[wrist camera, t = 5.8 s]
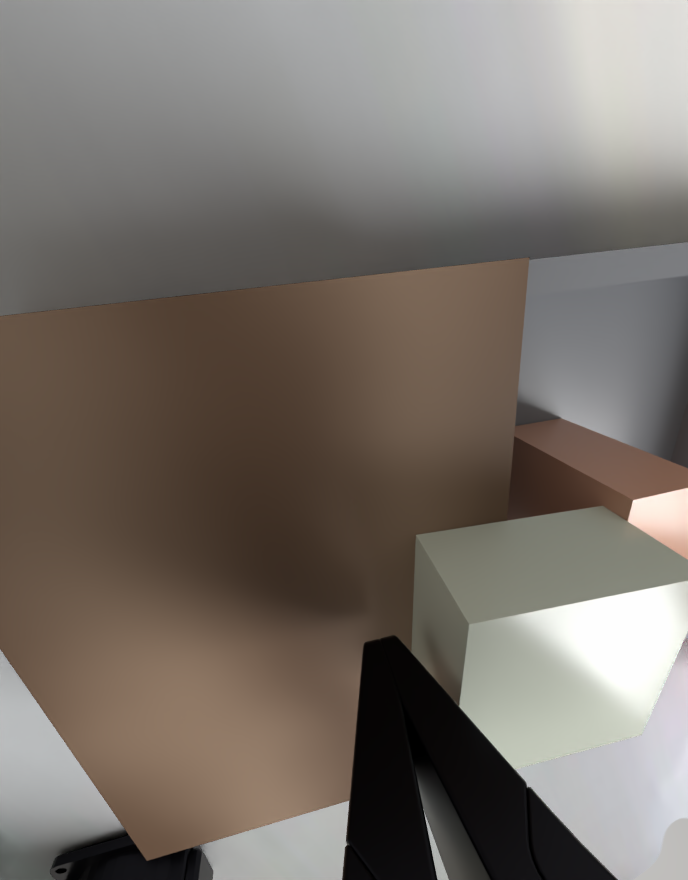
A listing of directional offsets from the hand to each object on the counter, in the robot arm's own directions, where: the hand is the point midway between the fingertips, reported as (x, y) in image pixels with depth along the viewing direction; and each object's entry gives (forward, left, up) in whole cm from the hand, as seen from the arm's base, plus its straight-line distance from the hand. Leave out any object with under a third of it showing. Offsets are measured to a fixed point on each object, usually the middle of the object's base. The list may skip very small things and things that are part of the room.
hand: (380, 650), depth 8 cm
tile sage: (+4, 0, -1) cm, 4 cm away
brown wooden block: (-2, 0, -6) cm, 6 cm away
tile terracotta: (+6, 0, -3) cm, 7 cm away
